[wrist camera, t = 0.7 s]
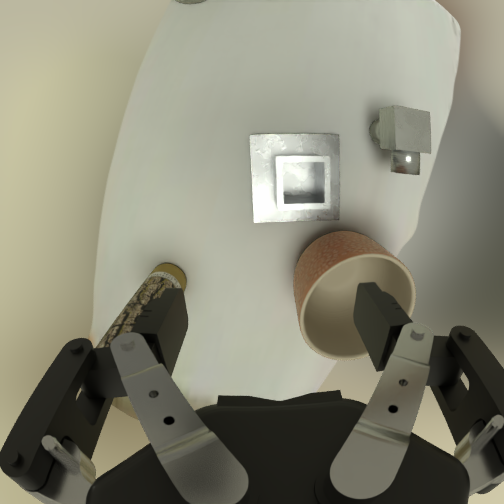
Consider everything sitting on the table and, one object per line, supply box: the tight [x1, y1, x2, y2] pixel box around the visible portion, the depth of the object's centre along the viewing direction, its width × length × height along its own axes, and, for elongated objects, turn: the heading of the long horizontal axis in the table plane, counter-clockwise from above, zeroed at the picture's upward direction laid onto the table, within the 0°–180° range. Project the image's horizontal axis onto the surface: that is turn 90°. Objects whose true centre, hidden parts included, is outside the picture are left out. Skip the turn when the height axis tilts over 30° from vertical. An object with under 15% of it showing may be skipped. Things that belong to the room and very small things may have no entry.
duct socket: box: [249, 134, 340, 223], centre depth 39 cm, size 14×14×8 cm
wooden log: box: [96, 264, 186, 348], centre depth 38 cm, size 7×7×25 cm
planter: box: [293, 231, 416, 360], centre depth 41 cm, size 17×17×15 cm
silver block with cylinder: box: [370, 105, 431, 175], centre depth 35 cm, size 9×6×11 cm, turn 3°
